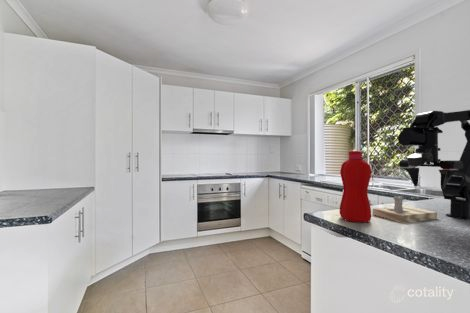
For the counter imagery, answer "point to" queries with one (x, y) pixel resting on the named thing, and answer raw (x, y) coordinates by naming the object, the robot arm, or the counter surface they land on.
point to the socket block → (405, 214)
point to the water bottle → (355, 189)
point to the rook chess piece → (398, 204)
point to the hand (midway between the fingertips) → (428, 187)
